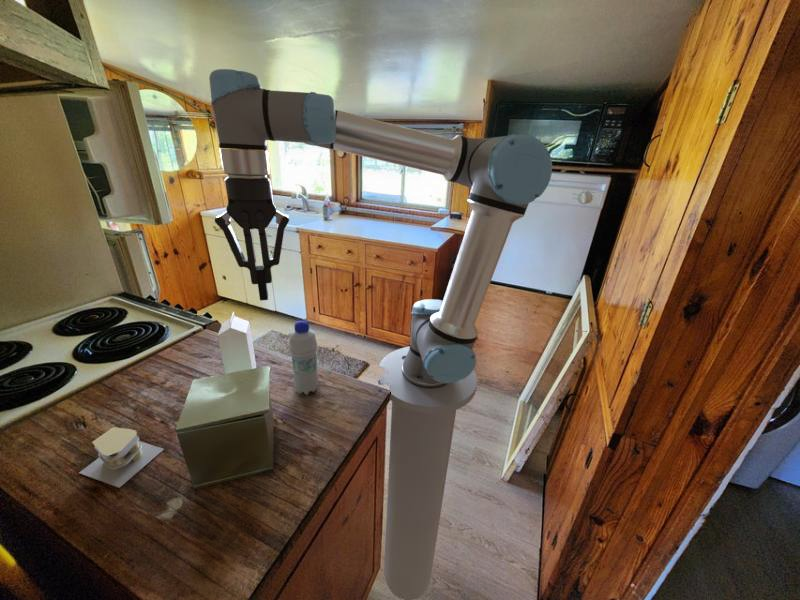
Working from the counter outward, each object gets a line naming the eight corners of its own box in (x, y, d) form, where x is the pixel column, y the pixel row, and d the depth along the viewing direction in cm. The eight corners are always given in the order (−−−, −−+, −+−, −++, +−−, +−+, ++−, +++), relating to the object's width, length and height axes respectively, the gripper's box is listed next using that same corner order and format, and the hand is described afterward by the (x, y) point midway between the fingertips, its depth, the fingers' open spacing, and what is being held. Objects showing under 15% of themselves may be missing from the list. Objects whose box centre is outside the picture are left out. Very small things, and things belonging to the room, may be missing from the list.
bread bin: (273, 420, 75) (266, 371, 70) (273, 470, 64) (264, 416, 58) (207, 433, 71) (194, 382, 65) (194, 489, 59) (176, 433, 54)
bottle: (306, 377, 90) (301, 313, 82) (325, 386, 87) (321, 320, 79) (287, 391, 84) (280, 323, 76) (306, 401, 81) (300, 331, 73)
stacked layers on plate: (78, 473, 61) (67, 452, 59) (126, 437, 69) (118, 417, 67) (119, 488, 59) (109, 466, 57) (164, 449, 67) (157, 429, 64)
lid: (270, 368, 70) (269, 365, 69) (269, 412, 58) (268, 409, 58) (194, 382, 65) (193, 379, 65) (176, 433, 54) (175, 429, 53)
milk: (231, 402, 80) (213, 323, 71) (235, 386, 85) (218, 311, 76) (257, 398, 82) (243, 320, 73) (259, 382, 87) (247, 309, 78)
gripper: (285, 176, 63) (295, 288, 72) (209, 173, 59) (231, 293, 68) (287, 179, 56) (298, 301, 66) (202, 176, 52) (226, 308, 62)
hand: (264, 297), depth 67 cm, fingers closed
